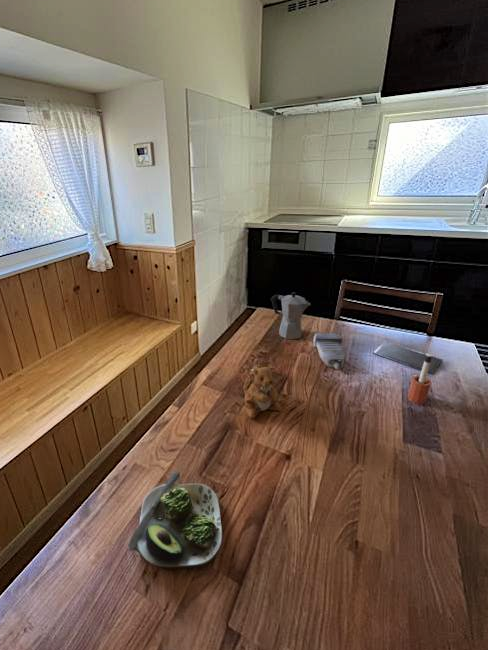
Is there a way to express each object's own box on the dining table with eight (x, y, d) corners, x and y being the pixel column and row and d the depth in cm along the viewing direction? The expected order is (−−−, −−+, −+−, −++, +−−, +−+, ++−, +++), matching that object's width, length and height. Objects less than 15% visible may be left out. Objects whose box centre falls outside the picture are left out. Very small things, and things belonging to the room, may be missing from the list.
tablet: (441, 361, 113) (442, 359, 112) (432, 376, 106) (432, 373, 106) (384, 342, 125) (384, 340, 125) (372, 354, 118) (372, 352, 118)
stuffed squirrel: (250, 421, 92) (252, 382, 87) (234, 389, 105) (234, 354, 100) (284, 415, 94) (287, 376, 89) (264, 384, 107) (266, 349, 101)
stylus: (420, 398, 96) (433, 354, 90) (418, 401, 96) (431, 356, 89) (414, 396, 97) (427, 352, 91) (412, 398, 97) (425, 354, 90)
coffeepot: (310, 333, 134) (315, 291, 127) (302, 343, 127) (306, 300, 120) (274, 323, 143) (276, 284, 135) (264, 333, 136) (266, 292, 129)
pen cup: (427, 399, 97) (433, 380, 94) (422, 407, 94) (428, 387, 91) (410, 392, 100) (415, 373, 97) (405, 400, 97) (410, 380, 94)
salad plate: (142, 477, 78) (139, 462, 76) (218, 476, 77) (218, 461, 76) (125, 571, 61) (122, 556, 59) (224, 571, 60) (224, 556, 58)
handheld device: (322, 372, 110) (324, 360, 109) (310, 341, 129) (311, 330, 127) (353, 373, 109) (355, 361, 107) (336, 342, 127) (338, 331, 125)
